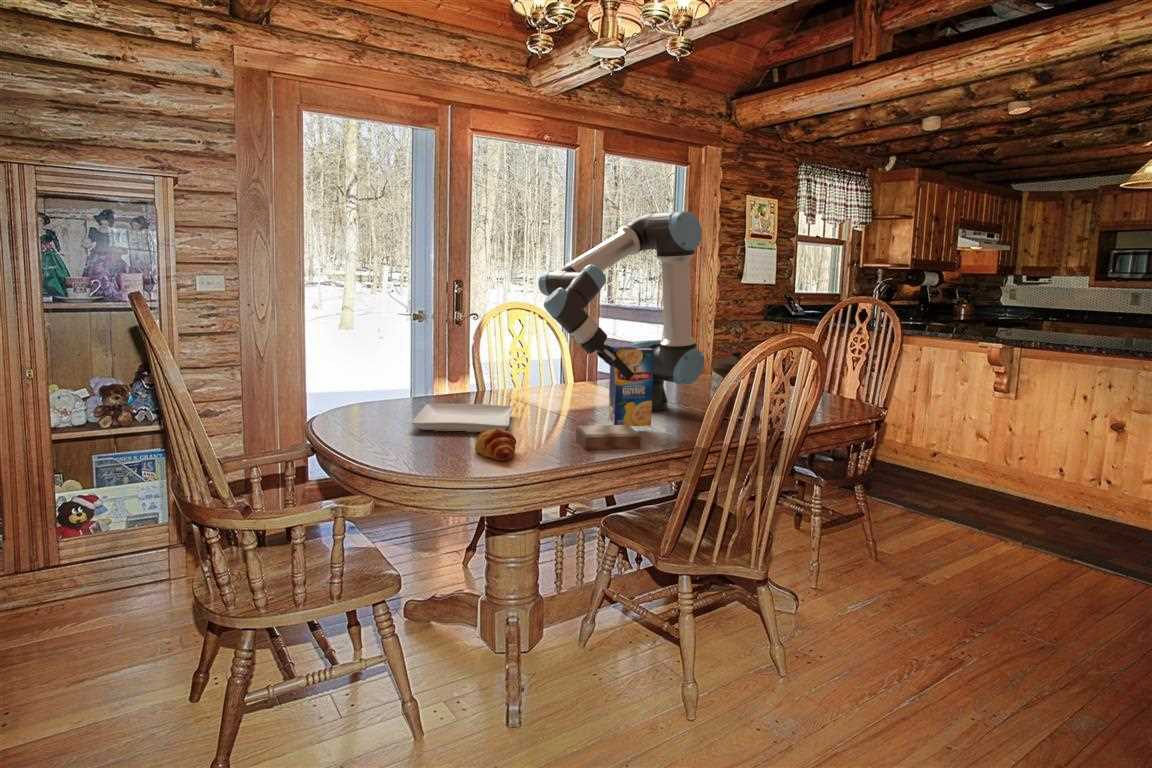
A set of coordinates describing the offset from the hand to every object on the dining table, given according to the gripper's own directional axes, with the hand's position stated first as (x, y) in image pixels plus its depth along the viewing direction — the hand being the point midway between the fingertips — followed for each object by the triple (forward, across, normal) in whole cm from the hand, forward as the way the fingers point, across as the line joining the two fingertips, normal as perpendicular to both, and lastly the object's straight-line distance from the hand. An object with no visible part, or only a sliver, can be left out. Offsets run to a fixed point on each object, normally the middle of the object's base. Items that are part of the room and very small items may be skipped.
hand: (643, 392), depth 207 cm
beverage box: (+4, 0, -9) cm, 10 cm away
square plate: (-27, -15, -44) cm, 53 cm away
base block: (-2, +13, -18) cm, 22 cm away
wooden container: (+35, -19, +18) cm, 43 cm away
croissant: (-23, +19, -40) cm, 50 cm away
